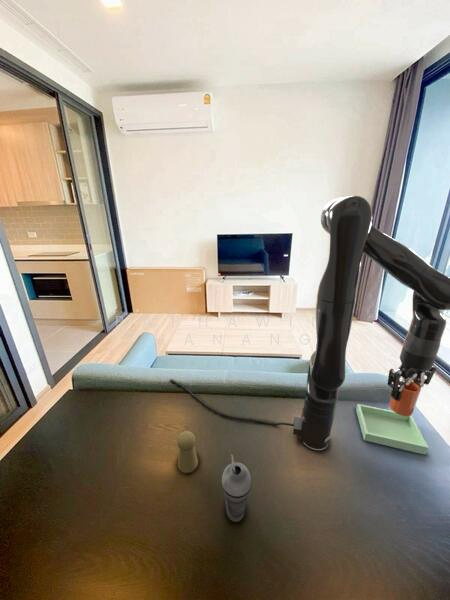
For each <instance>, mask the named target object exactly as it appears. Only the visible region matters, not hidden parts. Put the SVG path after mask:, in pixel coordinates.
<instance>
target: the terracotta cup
mask: <svg viewBox="0 0 450 600" xmlns="http://www.w3.org/2000/svg"><path fill="white" fill-rule="evenodd" d="M401 379H402V380H404V381H406V380H405V379H404V378H401ZM400 385H401V382H400V381H399V386H400ZM421 391H422V387H421V388H420V387H419V385H417V384H416V383H414V382H413V381H411V382H410V384H409V385H408V386H405V387H404V388H403V390H402V394H401V397H400V400H398V401H396V400H395V399H394V398H392V396H391V395H390V400H389V403H388V405H389V408H390V410H391V411H394V412H395V413H397V414H399V415H402V416H411V415H412V416H413V413H414V410H415V407H416V405H417V401H418V400H419V396H420V393H421Z"/></svg>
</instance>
